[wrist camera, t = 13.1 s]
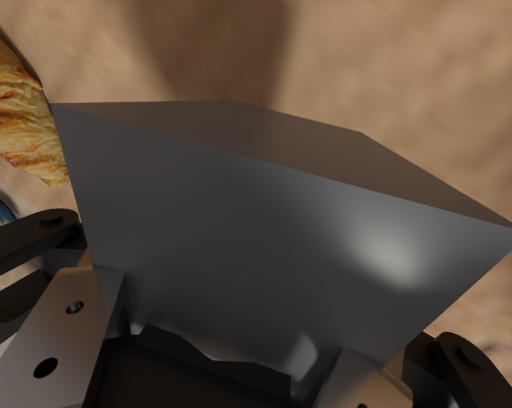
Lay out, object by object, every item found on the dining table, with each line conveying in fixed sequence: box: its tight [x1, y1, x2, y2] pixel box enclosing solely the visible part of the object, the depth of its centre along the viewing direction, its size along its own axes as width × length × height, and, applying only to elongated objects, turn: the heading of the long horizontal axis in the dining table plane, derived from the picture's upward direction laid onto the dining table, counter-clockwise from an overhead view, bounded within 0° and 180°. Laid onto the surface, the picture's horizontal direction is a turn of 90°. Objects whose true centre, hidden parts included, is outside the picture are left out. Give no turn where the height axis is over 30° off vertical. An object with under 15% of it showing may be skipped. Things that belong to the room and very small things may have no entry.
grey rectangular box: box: [50, 100, 512, 399], centre depth 9 cm, size 6×10×8 cm, turn 168°
